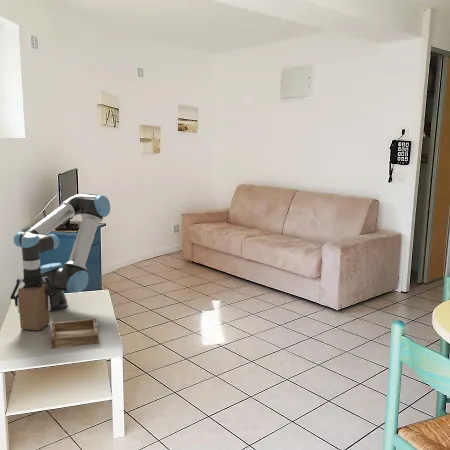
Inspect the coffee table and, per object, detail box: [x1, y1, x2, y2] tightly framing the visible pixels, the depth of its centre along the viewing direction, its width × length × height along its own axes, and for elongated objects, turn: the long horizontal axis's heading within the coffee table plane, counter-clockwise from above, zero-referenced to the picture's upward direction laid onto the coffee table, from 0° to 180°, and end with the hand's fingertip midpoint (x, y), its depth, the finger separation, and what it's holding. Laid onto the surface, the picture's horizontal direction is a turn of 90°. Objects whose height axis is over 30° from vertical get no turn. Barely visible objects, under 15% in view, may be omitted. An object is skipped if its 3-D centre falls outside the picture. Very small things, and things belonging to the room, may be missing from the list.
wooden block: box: [17, 284, 51, 331], centre depth 226 cm, size 10×10×20 cm
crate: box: [50, 318, 100, 349], centre depth 218 cm, size 20×20×4 cm
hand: (34, 311), depth 226 cm, fingers closed on wooden block, 13 cm apart
